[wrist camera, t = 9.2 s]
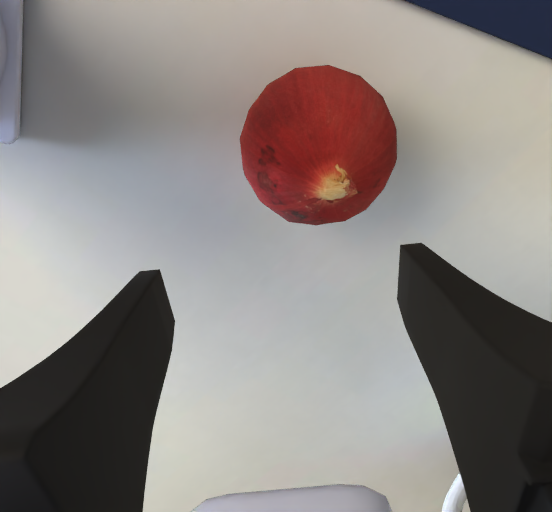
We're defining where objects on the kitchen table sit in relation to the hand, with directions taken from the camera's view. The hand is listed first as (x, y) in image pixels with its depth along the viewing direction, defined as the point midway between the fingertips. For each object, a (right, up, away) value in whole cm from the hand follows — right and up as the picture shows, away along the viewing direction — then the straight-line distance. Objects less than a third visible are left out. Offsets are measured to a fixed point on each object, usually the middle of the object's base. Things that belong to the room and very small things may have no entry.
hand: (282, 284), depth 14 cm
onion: (+1, +7, +7) cm, 10 cm away
